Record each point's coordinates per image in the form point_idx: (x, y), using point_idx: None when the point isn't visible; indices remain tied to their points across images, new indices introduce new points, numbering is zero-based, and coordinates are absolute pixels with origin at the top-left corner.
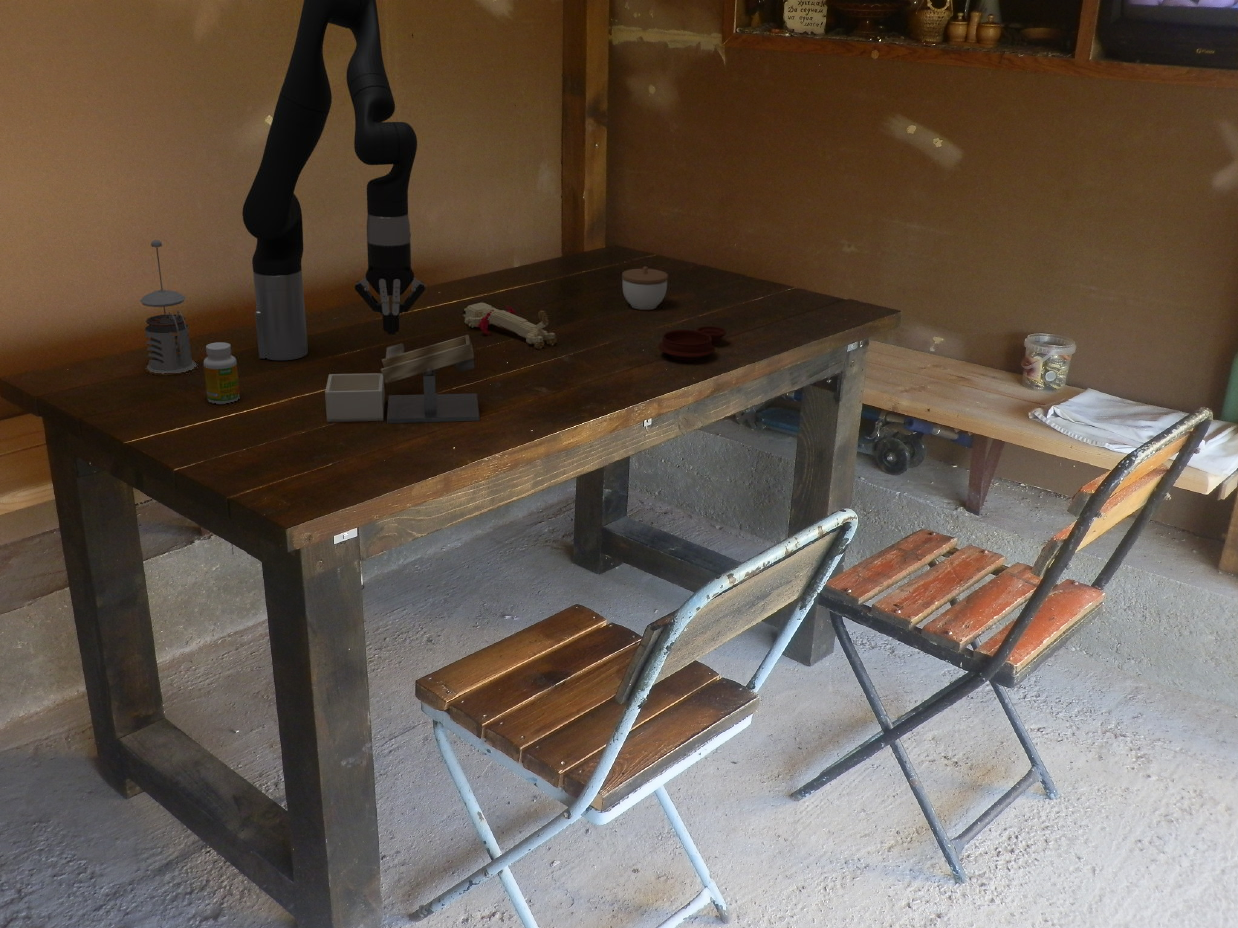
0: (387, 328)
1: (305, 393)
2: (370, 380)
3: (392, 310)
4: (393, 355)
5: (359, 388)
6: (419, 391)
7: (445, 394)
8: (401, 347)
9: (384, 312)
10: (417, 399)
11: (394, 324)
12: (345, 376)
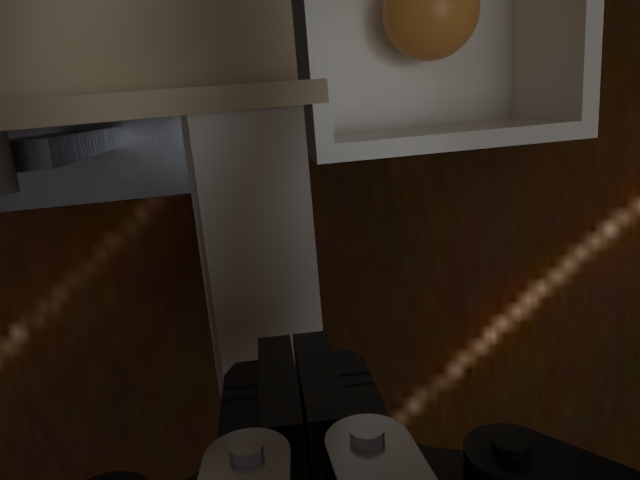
0: (327, 348)
1: (616, 240)
2: (379, 136)
3: (287, 465)
4: (260, 190)
5: (423, 129)
6: (169, 288)
7: (23, 204)
8: (223, 327)
9: (385, 432)
10: (148, 132)
11: (263, 375)
12: (512, 128)
